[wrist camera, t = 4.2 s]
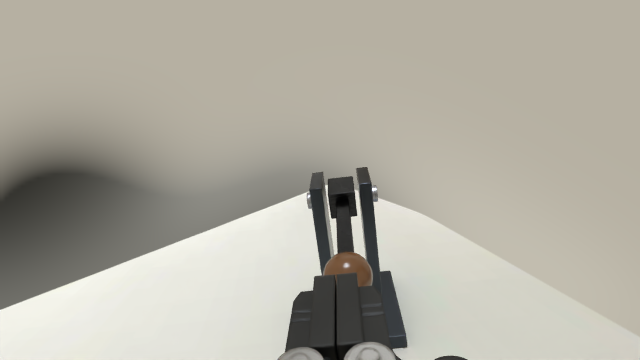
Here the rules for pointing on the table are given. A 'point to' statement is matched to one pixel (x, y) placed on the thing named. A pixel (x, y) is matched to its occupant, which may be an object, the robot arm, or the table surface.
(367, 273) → the lever
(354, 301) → the robot arm
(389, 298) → the bracket
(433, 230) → the table surface
